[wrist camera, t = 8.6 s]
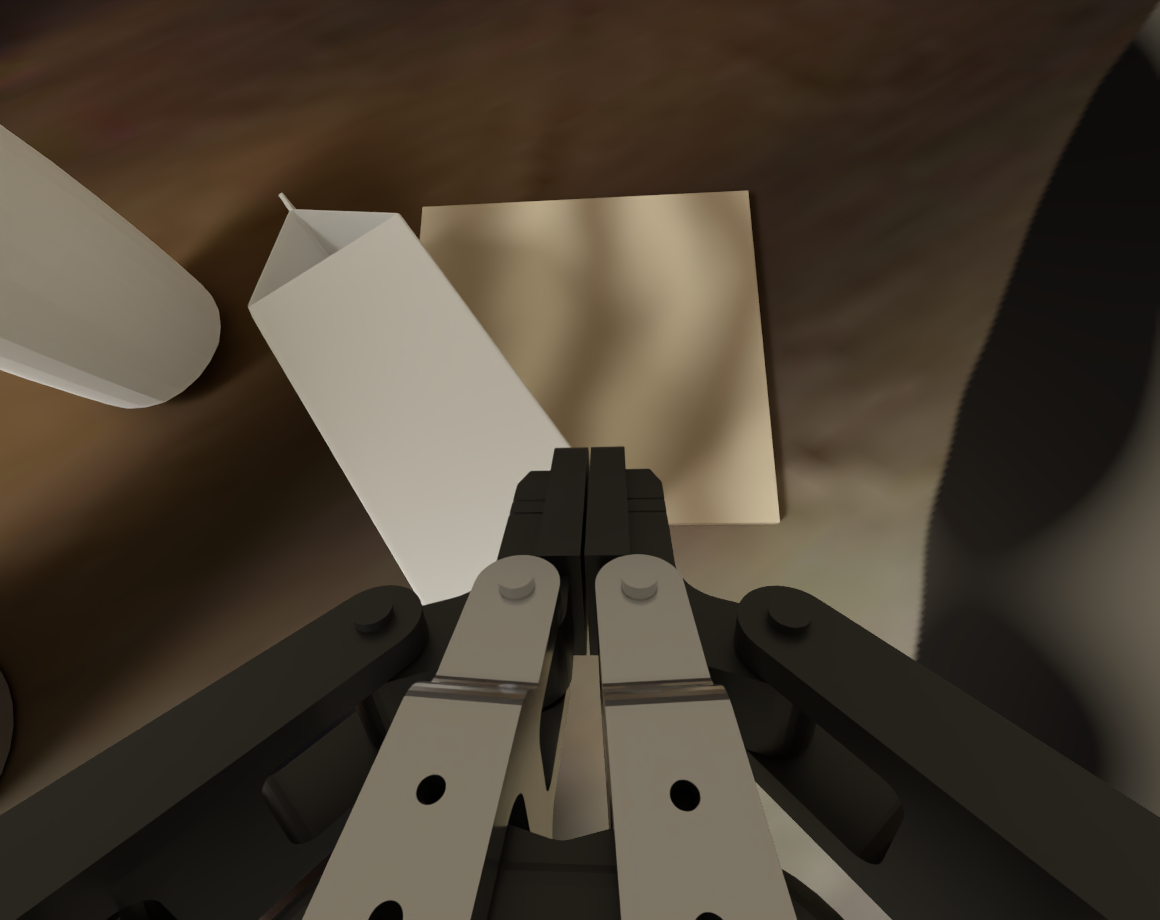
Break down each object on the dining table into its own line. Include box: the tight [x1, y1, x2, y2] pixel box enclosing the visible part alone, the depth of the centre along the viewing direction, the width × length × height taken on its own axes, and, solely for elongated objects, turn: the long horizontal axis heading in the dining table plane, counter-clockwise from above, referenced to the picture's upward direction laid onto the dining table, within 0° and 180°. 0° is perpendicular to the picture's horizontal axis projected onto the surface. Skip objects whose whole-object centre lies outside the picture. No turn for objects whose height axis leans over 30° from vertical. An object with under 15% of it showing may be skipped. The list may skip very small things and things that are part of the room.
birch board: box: [420, 191, 780, 525], centre depth 27 cm, size 18×18×1 cm
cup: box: [0, 125, 221, 409], centre depth 23 cm, size 8×8×14 cm
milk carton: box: [248, 193, 571, 605], centre depth 23 cm, size 7×7×19 cm
